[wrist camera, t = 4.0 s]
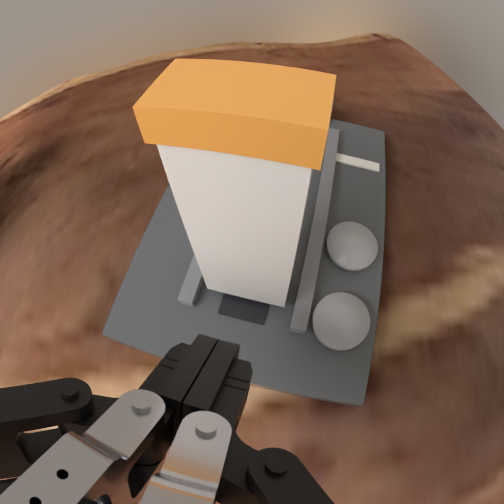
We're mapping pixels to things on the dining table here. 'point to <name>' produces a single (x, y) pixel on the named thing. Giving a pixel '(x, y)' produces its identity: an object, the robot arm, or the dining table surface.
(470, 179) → the dining table surface
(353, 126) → the console
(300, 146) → the fader
